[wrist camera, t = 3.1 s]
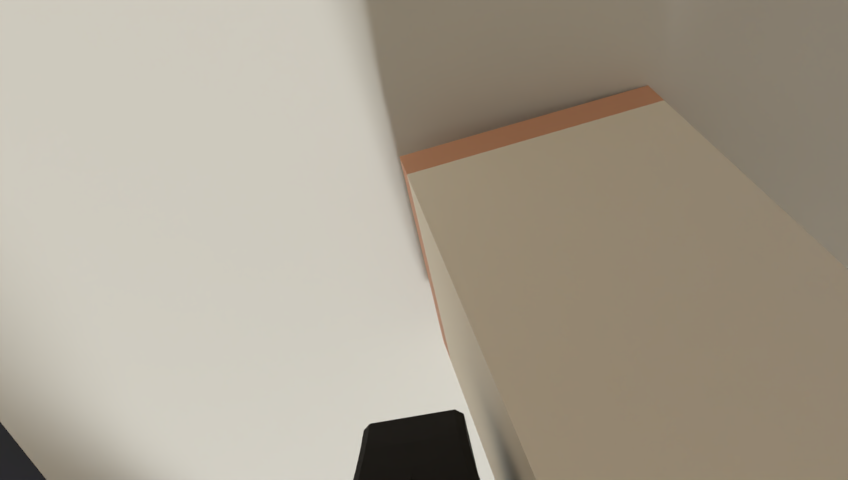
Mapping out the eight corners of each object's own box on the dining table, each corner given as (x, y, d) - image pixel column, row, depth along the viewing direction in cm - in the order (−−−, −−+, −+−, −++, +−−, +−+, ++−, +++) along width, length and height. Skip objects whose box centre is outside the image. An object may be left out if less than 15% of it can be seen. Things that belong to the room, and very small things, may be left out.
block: (649, 277, 17) (931, 655, 10) (443, 340, 16) (603, 770, 10) (648, 85, 14) (1031, 438, 8) (399, 156, 14) (582, 589, 7)
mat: (1003, 394, 21) (1018, 412, 20) (114, 537, 22) (108, 557, 22) (1396, -584, 10) (1452, -595, 9) (-423, -163, 11) (-460, -154, 11)
